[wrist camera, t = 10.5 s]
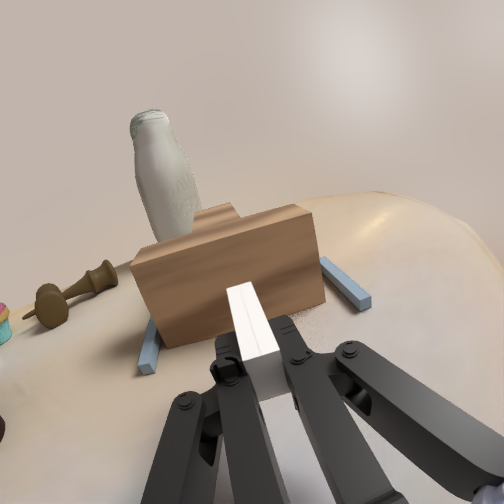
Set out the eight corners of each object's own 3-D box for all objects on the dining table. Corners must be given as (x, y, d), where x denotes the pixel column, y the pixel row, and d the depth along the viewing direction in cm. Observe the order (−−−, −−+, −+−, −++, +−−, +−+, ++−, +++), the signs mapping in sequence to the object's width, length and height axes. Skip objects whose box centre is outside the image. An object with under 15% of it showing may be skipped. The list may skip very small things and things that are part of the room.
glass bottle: (186, 241, 59) (150, 117, 50) (222, 240, 54) (183, 99, 44) (153, 261, 52) (111, 124, 42) (187, 263, 46) (141, 102, 36)
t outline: (371, 306, 23) (371, 295, 23) (143, 375, 22) (137, 365, 21) (297, 240, 43) (296, 233, 43) (166, 278, 42) (164, 271, 41)
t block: (325, 301, 26) (311, 212, 23) (167, 349, 25) (129, 266, 22) (281, 251, 41) (268, 191, 38) (177, 281, 40) (157, 224, 37)
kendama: (128, 290, 43) (30, 344, 30) (113, 281, 50) (30, 325, 37) (115, 257, 41) (12, 310, 28) (102, 253, 48) (16, 297, 35)
